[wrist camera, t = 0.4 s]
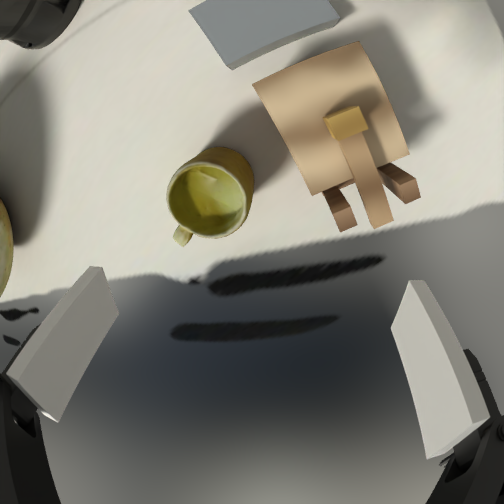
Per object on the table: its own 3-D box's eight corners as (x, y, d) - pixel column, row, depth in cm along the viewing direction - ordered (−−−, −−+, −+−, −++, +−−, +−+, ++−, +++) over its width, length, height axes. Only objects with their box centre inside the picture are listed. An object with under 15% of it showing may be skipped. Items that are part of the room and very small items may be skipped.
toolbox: (266, 87, 28) (259, 76, 18) (332, 59, 26) (356, 38, 16) (322, 194, 35) (339, 232, 25) (382, 168, 32) (421, 197, 22)
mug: (215, 116, 29) (199, 159, 23) (272, 167, 35) (275, 221, 29) (156, 174, 36) (134, 225, 29) (210, 213, 41) (201, 266, 35)
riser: (198, 19, 24) (188, 10, 21) (296, -24, 20) (297, -37, 16) (232, 70, 28) (226, 65, 24) (333, 26, 23) (340, 17, 20)
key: (322, 117, 21) (327, 118, 19) (349, 106, 21) (358, 106, 18) (367, 224, 26) (376, 237, 23) (391, 213, 25) (402, 226, 23)
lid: (254, 86, 24) (251, 84, 21) (351, 47, 20) (358, 41, 17) (309, 187, 28) (312, 195, 26) (398, 149, 25) (409, 154, 22)
